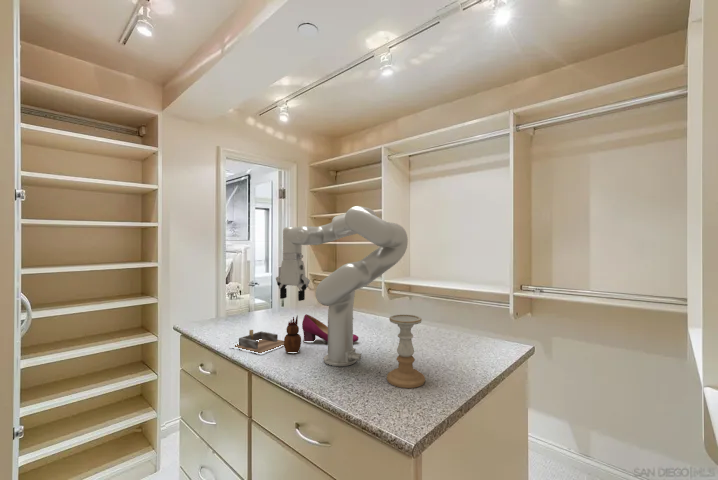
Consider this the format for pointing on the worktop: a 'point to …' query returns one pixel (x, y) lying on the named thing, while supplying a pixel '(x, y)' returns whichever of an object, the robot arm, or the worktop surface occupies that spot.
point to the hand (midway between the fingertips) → (292, 299)
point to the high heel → (316, 329)
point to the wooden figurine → (292, 337)
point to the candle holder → (405, 354)
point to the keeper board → (263, 345)
